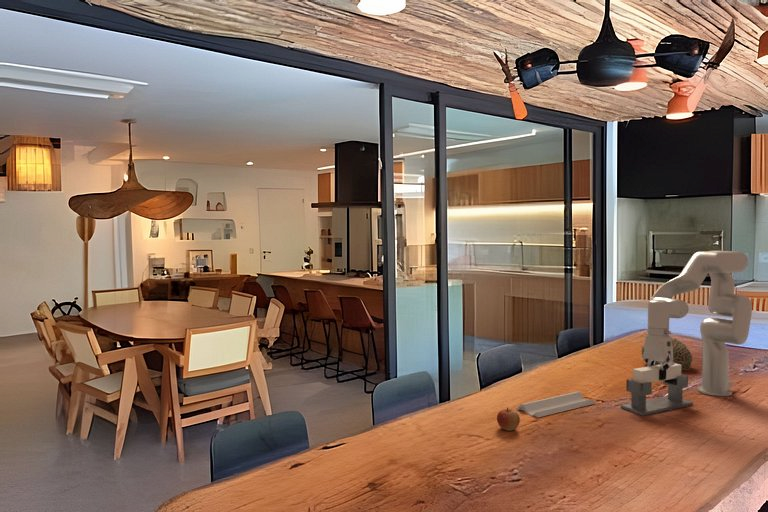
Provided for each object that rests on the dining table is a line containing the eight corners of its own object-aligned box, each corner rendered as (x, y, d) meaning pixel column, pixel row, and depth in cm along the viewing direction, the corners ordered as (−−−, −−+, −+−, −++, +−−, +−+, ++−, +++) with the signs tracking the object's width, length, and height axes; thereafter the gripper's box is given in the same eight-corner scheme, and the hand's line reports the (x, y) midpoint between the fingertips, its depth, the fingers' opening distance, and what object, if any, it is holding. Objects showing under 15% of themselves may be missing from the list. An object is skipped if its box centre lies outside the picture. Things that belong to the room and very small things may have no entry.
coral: (695, 368, 277) (697, 339, 277) (688, 374, 263) (690, 343, 263) (646, 360, 292) (648, 332, 291) (636, 364, 278) (639, 335, 277)
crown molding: (537, 419, 205) (537, 410, 205) (515, 410, 216) (515, 401, 216) (595, 405, 221) (595, 396, 220) (571, 397, 231) (571, 389, 231)
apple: (507, 435, 189) (506, 412, 189) (492, 427, 196) (492, 405, 196) (524, 431, 193) (524, 408, 192) (509, 423, 200) (509, 402, 199)
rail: (672, 374, 222) (672, 362, 222) (681, 377, 219) (681, 364, 218) (632, 381, 213) (632, 368, 213) (641, 384, 210) (641, 371, 209)
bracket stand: (670, 397, 227) (671, 370, 226) (693, 404, 218) (693, 376, 217) (620, 407, 215) (621, 378, 215) (642, 415, 206) (642, 385, 206)
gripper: (684, 334, 209) (683, 382, 210) (646, 327, 224) (646, 372, 225) (670, 336, 206) (669, 384, 207) (633, 329, 221) (632, 374, 222)
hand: (657, 377), depth 216 cm, fingers closed on rail, 4 cm apart
